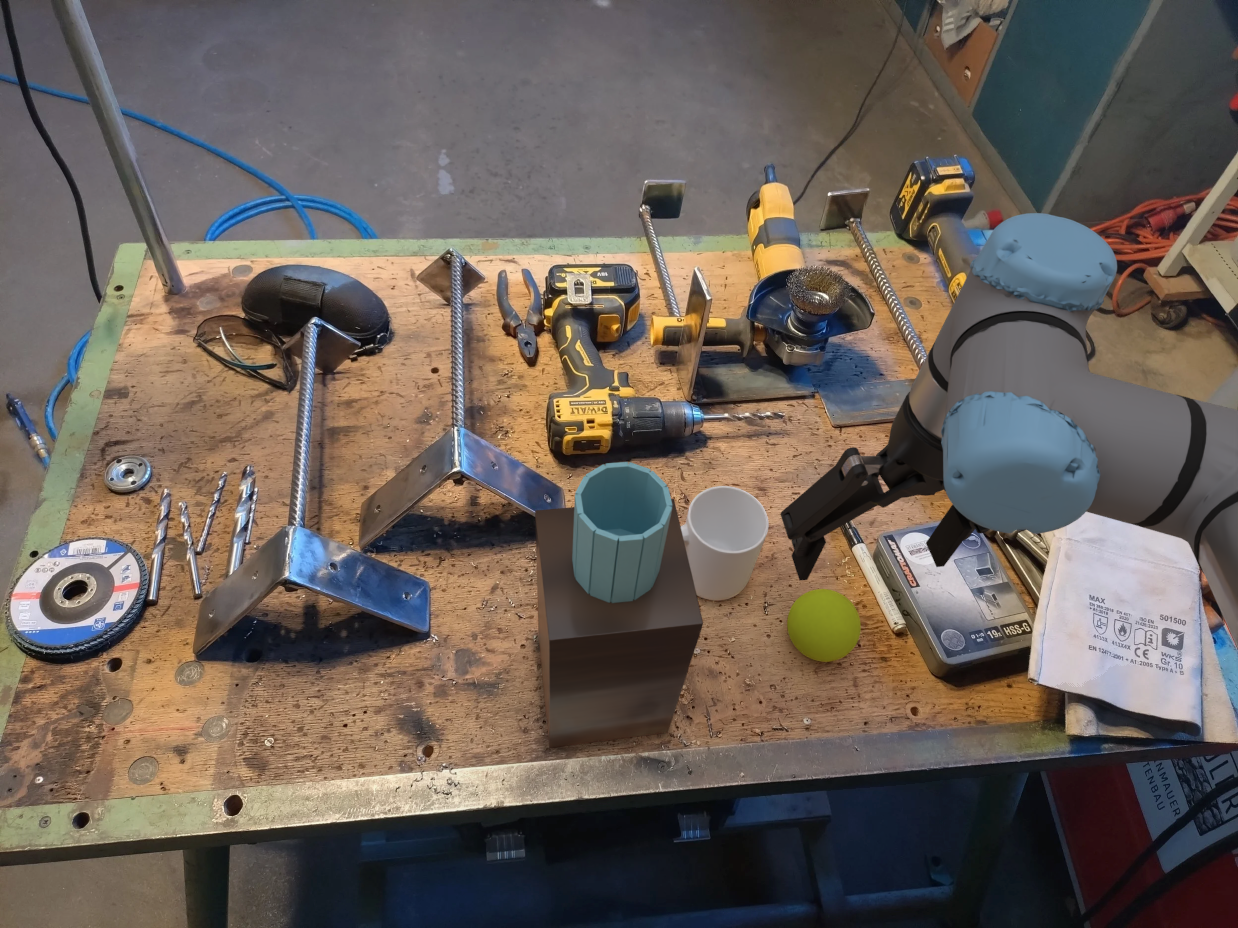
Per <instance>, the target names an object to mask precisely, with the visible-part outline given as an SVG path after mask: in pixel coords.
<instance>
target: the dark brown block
mask: <svg viewBox="0 0 1238 928" xmlns="http://www.w3.org/2000/svg"><path fill="white" fill-rule="evenodd" d="M671 501H672V512H671V517H670V522H669V526H668V531H667V536H666V541H665V546H664V550H663V555H662V560H661V565H660V570H659V573H658V575H657V578H656V580H655V582H654V585H653V587H651V589H650V590H649V591H648V592H646V593H645V594H643V595H642V596H640V597H639V598H637V599H636V600H634V599H633V601H628V602H618V603H612V602H610V603H609V602H606V601H603V600H601V599H598V598H596V597H593V596H590V593H589V594H588V593H587V592H586V591H585V590H584V589H583V587H582V586H581V585H580V584H579V583H578V581H577V580H576V577H575V576H574V569H573V562H572V554H573V529H574V506H570V507H561V508H547V509H536V510H534V516H535V517H534V518H535V519H534V522H535V557H536V594H537V595H536V596H537V597H536V599H537V600H536V601H537V631H538V632H537V635H538V646H539V647H538V648H539V658H540V668H541V677H542V687H543V689H542V690H543V698H544V699H543V700H544V707H545V719H546V728H547V738H548V748H549V749H552V748H560V747H568V746H574V745H575V746H576V745H583V744H592V743H598V742H606V741H614V740H623V739H629V738H630V739H631V738H637V737H645V736H653V735H661V734H668V733H669V731H670V727H671V724H672V721H673V718H674V715H675V713H676V709H677V707H678V703H679V701H680V697H681V694H682V691H683V687H684V684H685V681H686V678H687V675H688V672H689V669H690V667H691V663H692V659H693V656H694V653H695V650H696V647H697V644H698V642H699V639H700V635H701V632H702V629H703V626H704V620H703V616H702V611H701V607H700V604H699V599H698V598H699V597H698V596H697V594H696V590H695V586H694V581H693V577H692V573H691V569H690V564H689V560H688V556H687V552H686V547H685V543H684V539H683V535H682V531H681V526H682V525H681V522H680V517H679V514H678V511H677V505H676V501H675V499H674V498H671Z"/></svg>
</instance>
